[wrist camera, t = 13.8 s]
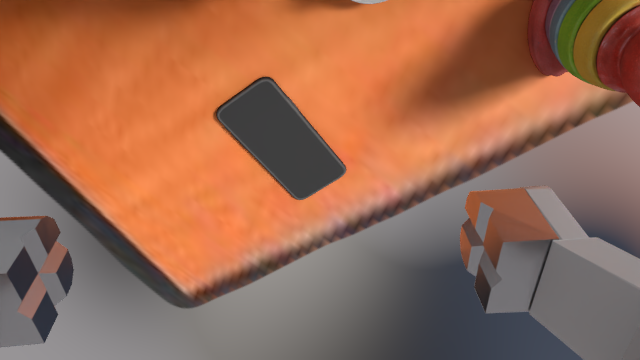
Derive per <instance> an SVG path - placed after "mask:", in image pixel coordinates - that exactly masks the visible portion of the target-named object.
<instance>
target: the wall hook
mask: <svg viewBox="0 0 640 360" xmlns="http://www.w3.org/2000/svg"><path fill="white" fill-rule="evenodd" d="M352 1H354V2H358V3H363V4H375V3H380V2H384V1H387V0H352Z"/></svg>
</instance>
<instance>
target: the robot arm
mask: <svg viewBox="0 0 640 360" xmlns="http://www.w3.org/2000/svg"><path fill="white" fill-rule="evenodd" d="M465 209H466V211H467V213H468V215H469V217H470V218H469V219H468V220H467V221H466V222H465V223H464V224H463V225H462V228H461V235H460V244H461V254H462V258H463V262H464V264H465V267H466V269H467V271H469V272H470V273H471V274H473V275H474V276H476V280H475V285H474V288H475V290H476V293H477V295H478V297H479V299H480V302H481V304H482V306H483V309H484V311H485V313H503V312H527V311H530V312H529V314H530V315H531V316H533V317H534V318H535V319H536V320H537V321H539V322H540V323H541V324H542V325H543V326H544V327H546V328H547V329H548V330H549V331H550V332H552V333H553V334H554V335H555V336H556V337H558V338H559V339H560V340H561V341H562V342H563V343H565V344H566V345H567V346H568V347H569V348H571V349H572V350H573V351H574V352H575V353H577V354H578V355H579V356H580V357H581V358H582V359H584V360H640V259H639V258H637V257H635V256H633V255H631V254H629V253H627V252H625V251H623V250H621V249H619V248H617V247H615V246H613V245H611V244H609V243H607V242H605V241H603V240H601V239H599V238H597V237H596V238H589V237H588V236H587V234H586V233H585V232H584V231H583V229H582V228H581V227H580V226H579V224H578V223H577V221H575V219H574V218H573V216H572V215H571V214H570V212H569V211H568V210H567V209H566V207H565V206H564V205H563V203H562V202H561V201H560V199H559V198H558V197H557V196H556V194H555V193H554V192H553V191H552V189H551V188H549V187H547V186H545V185H544V186H532V187H520V188H518V189H502V190H487V191H472V192H470V193H469V195H468V197H467V200H466V206H465ZM59 234H60V230H59V228H58V226H57V224H56V222H55V220H54V219H53V218H51V217H48V216H32V217H8V218H7V217H6V218H0V347H8V346H19V345H30V344H40V343H45V341H46V339H47V337H48V335H49V333H50V331H51V328H52V326H53V324H54V322H55V320H56V318H57V316H58V313H57V311H56V309H55V307H54V306H55V305H56V304H57V303H59V302H60V301H61V300H62V299H64V298H65V297H66V296H67V294H68V292H69V290H70V287H71V285H72V279H73V271H74V269H73V263H72V258H71V256H70V253H69V251H68V249H67V248H65V247H64V246H62V245H61V244H60V243H58V242H57V238H58V236H59Z"/></svg>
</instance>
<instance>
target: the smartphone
mask: <svg viewBox="0 0 640 360" xmlns="http://www.w3.org/2000/svg"><path fill="white" fill-rule="evenodd" d="M217 118H218V120H219V121H220V122H221V123H222V124H223V125H224V126H225V128H226V129H227V130H228V131H230V132H231V134H232V135H233V136H234V137H235V138H236V139H237V140H238V141H239V142H240V143H241V144H242V145H243V146H244V147H245V149H246V150H248V151H249V152H250V153H251V154H252V155H253V156H254V157H255V158H256V159H257V160H258V161H259V162H260V163H261V164H262V165H263V166H264V167H265V168H266V169H267V170H268V171H269V172H270V173H271V174H272V175H273V176H274V177H275V178H276V179H277V180H278V181H279V183H280V184H281V185H282V186H283V187H284V188H285V189H286V190H287V191H288V192H289V193H290V194H291V195H292V196H293V197H294V198H296V199H298V200H303V199H306V198H308V197H309V196H311V195H313V194H314V193H316V192H317V191H319V190H321V189H322V188H324V187H326V186H327V185H329V184H331V183H332V182H334V181H336V180H337V179H339V178H340V177H342V176H343V175H344V174H345V172H346V166H345V165H344V164H343V162H342V161H341V160H340V159H339V158H338V156H337V155H336V154H335V153H334V152H333V150H332V149H331V148H330V147H329V146H328V144H327V143H326V142H325V141H324V140H323V138H322V137H321V136H320V135H319V134H318V132H317V131H316V130H315V129H314V128H313V127H312V125H311V124H310V123H309V122H308V121H307V119H306V118H305V117H304V116H303V115H302V113H301V112H300V111H299V109H298V108H297V107H296V105H295V104H294V103H293V102H292V101H291V99H290V98H289V97H287V96H286V94H285V93H284V92H283V91H282V90H281V88H280V87H279V86H278V85H277V84H276V82H275V81H274V80H273V79H272V78H270V77H262V78H259V79H258V80H256V81H255V82H254V83H252V84H251V85H249V86H248V87H247V88H245V89H244V90H242V91H241V92H240V93H238V94H237V95H235V96H234V97H233V98H231V99H230V100H228V101H227V102H226V103H224V104H223V105H221V106H220V107H219V109H218V110H217Z"/></svg>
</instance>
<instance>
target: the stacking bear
mask: <svg viewBox="0 0 640 360" xmlns="http://www.w3.org/2000/svg"><path fill="white" fill-rule="evenodd" d="M528 43H529V49H530V53H531V56H532V59H533V61H534V63H535V65H536V67H537V68H538V70H539V71H540V72H541V73H543V74H545V75H553V76H560V75H562V74H564V73H565V72H570V73H571V74H572V75H574V76H575V77H577V78H579V79H580V80H582V81H584V82H587V83H589V84H592V85H595V86H598V87H600V88H603V89H607V90H611V91H618V92H624V93H628V95H629V96H630V97H631V99H632V100H633V101H634V102H635V103H636V104H637V105H638V106H639V107H640V0H534V2H533V4H532V8H531V12H530V17H529V23H528Z"/></svg>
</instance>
